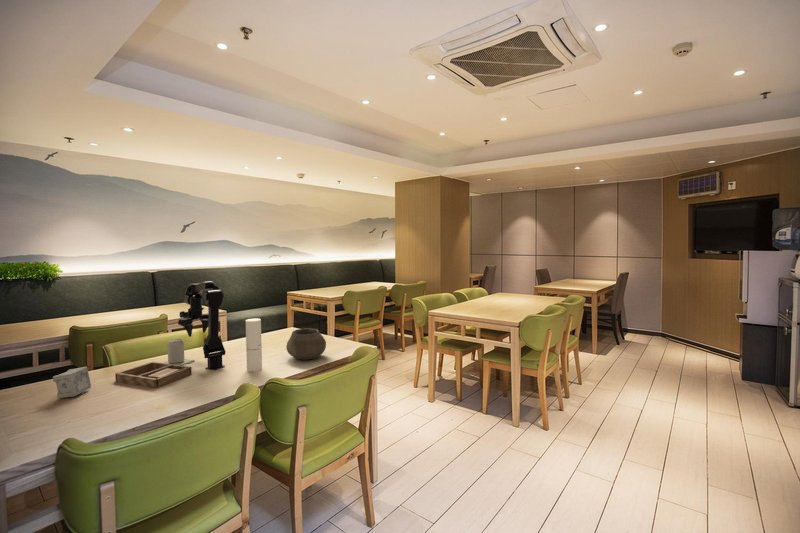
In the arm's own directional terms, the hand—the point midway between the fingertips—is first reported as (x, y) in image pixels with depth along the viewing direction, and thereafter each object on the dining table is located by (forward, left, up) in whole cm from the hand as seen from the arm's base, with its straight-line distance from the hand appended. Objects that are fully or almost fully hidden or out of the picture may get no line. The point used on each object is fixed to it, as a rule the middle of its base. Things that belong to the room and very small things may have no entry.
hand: (197, 334), depth 210 cm
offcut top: (-13, +31, -11) cm, 35 cm away
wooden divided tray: (-7, +31, -13) cm, 34 cm away
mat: (+3, +11, -13) cm, 17 cm away
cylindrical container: (-42, +5, -13) cm, 44 cm away
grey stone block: (+8, +56, -13) cm, 58 cm away
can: (+3, +11, -13) cm, 17 cm away
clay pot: (-56, -20, -13) cm, 61 cm away
